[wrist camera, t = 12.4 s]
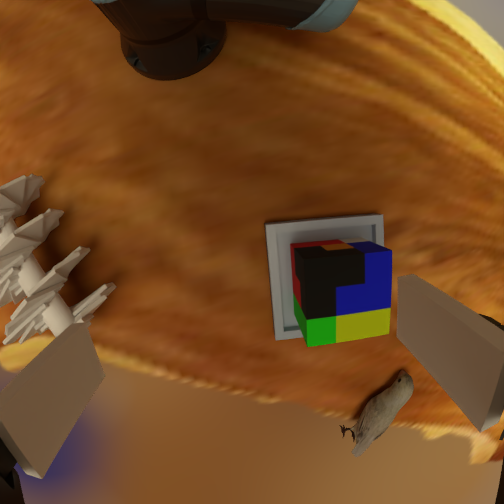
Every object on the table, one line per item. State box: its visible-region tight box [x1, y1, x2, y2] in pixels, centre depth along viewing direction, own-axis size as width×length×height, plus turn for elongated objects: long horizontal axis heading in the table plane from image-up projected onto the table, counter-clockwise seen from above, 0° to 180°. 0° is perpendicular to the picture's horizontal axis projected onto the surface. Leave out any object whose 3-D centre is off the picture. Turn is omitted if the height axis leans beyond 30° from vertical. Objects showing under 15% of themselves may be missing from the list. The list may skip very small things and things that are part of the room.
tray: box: [264, 213, 384, 340], centre depth 43 cm, size 16×16×2 cm
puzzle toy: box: [290, 237, 392, 347], centre depth 38 cm, size 10×10×10 cm
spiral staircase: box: [0, 174, 117, 345], centre depth 34 cm, size 18×18×25 cm
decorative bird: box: [340, 370, 414, 457], centre depth 45 cm, size 5×16×8 cm, turn 145°
